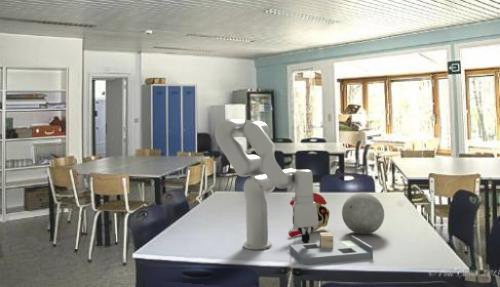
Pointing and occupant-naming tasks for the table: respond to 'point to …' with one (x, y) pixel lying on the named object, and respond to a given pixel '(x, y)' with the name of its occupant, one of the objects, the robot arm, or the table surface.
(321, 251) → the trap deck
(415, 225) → the table surface
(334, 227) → the table surface
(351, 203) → the decorative sphere
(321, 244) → the beech cube
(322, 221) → the toy
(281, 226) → the table surface
